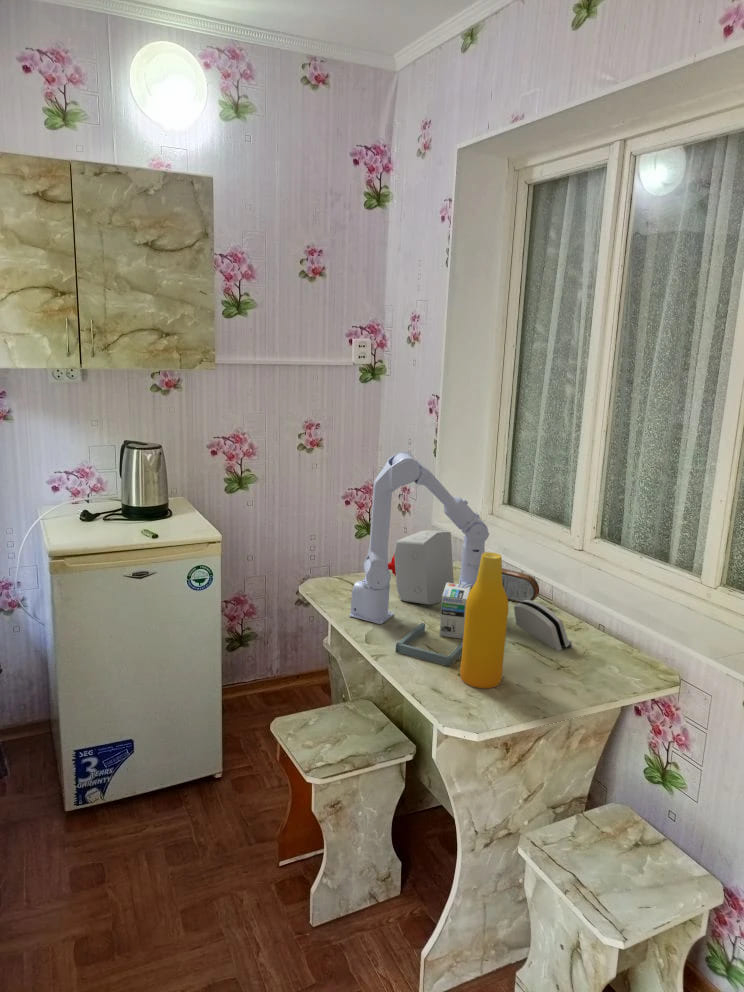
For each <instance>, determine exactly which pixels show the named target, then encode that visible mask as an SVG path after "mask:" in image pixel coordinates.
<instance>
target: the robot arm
mask: <svg viewBox="0 0 744 992" xmlns="http://www.w3.org/2000/svg"><path fill="white" fill-rule="evenodd" d="M412 483H415V485H419V486H420V485H421V486H425V487H426V488H427V489H428V491H430V492H431V494H433V495H434V496H435V497H436V498H437V499H438V500H439V501H440V503H442V505H443V513H444V514H445V515H446V516H447V517H448V519H450V521H452V523H453V524H454V525H455V526H456V527H457V528H458V529H459V530H461V532H462V534H464V536H463V545H462V553H461V564H460V576H459V578H458V584H459V585H458V587H461V588H466V587H469V586H471V589H472V587H473V586H474V584H475V582H476V580H477V576H478V571H479V566H480V561H481V556H482V554H483V553H485V548H486V547H485V543H486V541H487V540H488V539H489V536H490V532H489V529H488V526H487V525H486V524H485V522H483V520H482V519H481V518H480V514H478V513H477V512H474V511H473V510H472V508H471V507H470V506H469V505H468V504H469V502H468V501H467V500H466V499H465V498H463V499H462V498H461V497H460V496H453V495H452V494H451V493H450V492H449V491H448V489H446V488H445V486H444V485H443V484H442V483H441V482H440V481H439V479H437V478H436V476H435V475H434V474H433V472H431V470H430V469H429V468H427V467H426V466H425V465H424V464H423V463H421V462H420V461H419V460H418V459H416V460H415V457H414V456H413V455H412V454H411V453H410V452H406V451H400V452H397V453H395V454H394V455H393V456H391V457H389V458H388V459H387V461H386V463H385V465H384V467H382V469H381V470H380V472H379V473H378V475H377V476H376V477H375V479H374V481H373V488H372V489H373V490H372V504H371V505H372V507H371V516H370V517H371V520H370V532H369V533H370V535H369V547H368V550H367V555H366V558H365V560H364V561H363V564H362V568H363V572H364V575H365V576H364V578H363V580H356V581H355V583H354V584H353V587H352V590H351V602H350V604H351V605H350V613H349V614H348V615H349V617H352V618H355V619H360V620H361V621H362V620H364V621H366V622H372V623H373V624H378V625H382V624H383V623H384V622H386V621H387V620H389V619H390V618H391V617H393V615H395V613H394V612H393V611H389V605H390V604H389V602H390V587H391V583H390V581H391V572H390V570H388V563H389V557H388V555H389V553H388V550H389V537H390V526H391V523H390V522H391V510H392V509H391V508H392V497H393V492H395V491H396V490H398V489H399V488H400V487H402V486H406V485H409V484H412ZM460 584H462V586H460ZM465 585H467V586H465ZM463 586H465V587H463Z"/></svg>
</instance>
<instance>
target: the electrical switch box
mask: <svg viewBox="0 0 744 992" xmlns="http://www.w3.org/2000/svg"><path fill="white" fill-rule="evenodd" d="M452 547H453V545H452V533H451V531H445V530H444V531H441V530H428V529H427V530H420V531H418V532H415V533H413V534H411V535H408V536H405V537H403V538H400V539H398V540H396V542H395V547H394V552H393V556H392V557H391V562H388V570H389V571H390V570H391V572H392V574H393V575H394V576H395V580H396V581H395V582H396V591H397V593H398V595H399V599H400V601H404V602H407V603H416V604H423V605H434V604H438V603H442V595H443V592H444V589H445V586H446V583H454V582H455V581H454V578H455V577H454V565H453V564H454V562H453V561H454V560H453V549H452ZM454 584H455V583H454Z"/></svg>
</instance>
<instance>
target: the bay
mask: <svg viewBox="0 0 744 992" xmlns="http://www.w3.org/2000/svg"><path fill="white" fill-rule="evenodd" d="M425 631H426V623H424V622H421V623H419V624H418V625H417V626H415V628H413V629H412V630H411V631H409V633H407V634H406V635H405V636H404V637H402V638H401V639H400V640H399V641H398V642H397V643H395V653H399V654H402V655H406V656H410V657H412V658H417V659H421V660H424V661H428V662H430V663H431V662H432V663H436V664H440V665H443V666H447V667H452V665H454V663H456V661H457V660H459V659H460V658H461V657H462V647H463V641H461V643H460V644H458V646H457V647H456V648H455V649H454V650H452V652H451V653H450V654H448V655H446V654H442V653H440V652H439V653H438V652H435V651H432V650H428V649H424V648H420V647H416V646H412V645H411V643H413V642H414V641H415V640H416V639H417V638H418V637H419V636H421V635H422V634H423V633H424V632H425Z"/></svg>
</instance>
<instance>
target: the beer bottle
mask: <svg viewBox="0 0 744 992" xmlns="http://www.w3.org/2000/svg"><path fill="white" fill-rule="evenodd" d="M502 560H503V559H502V555H501V554H500V553H497V552H489V551H488V552H484V553H483V554H482V556H481V561H480V566H479V571H478V576H477V580H476V582H475V584H474V586H473V587H472V589H471V591H470V593H469V595H468V597H467V601H466V611H465V623H464V635H463V639H462V642H463V647H462V655H461V661H460V668H459V669H460V670H459V675H460V679H461V680H462V681H463V683H465V684H466V685H468V686H470V687H472V688H478V689H492V688H494V687H497V686H498V685H499V684H501V681H502V677H503V668H504V656H505V645H506V644H505V643H506V635H507V626H508V615H509V600H508V599H507V595H506V592H505V590H504V587H503V584H502V567H503V565H502V564H503V563H502Z"/></svg>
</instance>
